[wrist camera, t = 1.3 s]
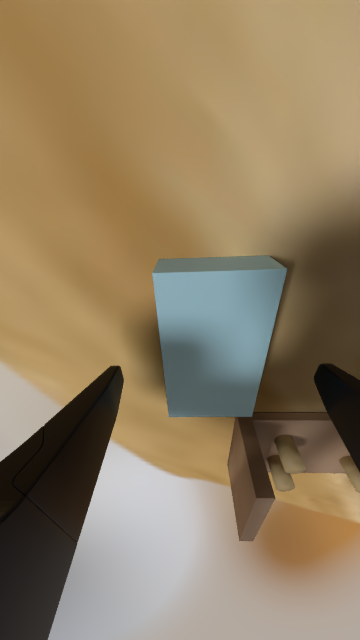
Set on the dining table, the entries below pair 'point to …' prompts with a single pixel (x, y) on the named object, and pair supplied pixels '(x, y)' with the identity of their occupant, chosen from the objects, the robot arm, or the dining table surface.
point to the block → (215, 331)
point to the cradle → (280, 460)
